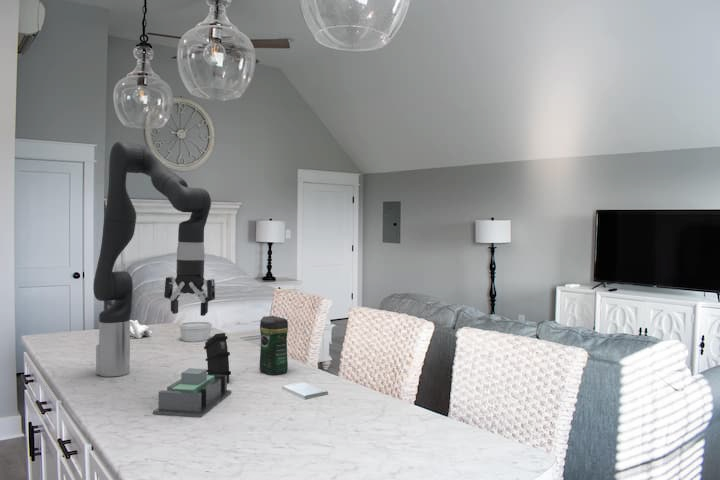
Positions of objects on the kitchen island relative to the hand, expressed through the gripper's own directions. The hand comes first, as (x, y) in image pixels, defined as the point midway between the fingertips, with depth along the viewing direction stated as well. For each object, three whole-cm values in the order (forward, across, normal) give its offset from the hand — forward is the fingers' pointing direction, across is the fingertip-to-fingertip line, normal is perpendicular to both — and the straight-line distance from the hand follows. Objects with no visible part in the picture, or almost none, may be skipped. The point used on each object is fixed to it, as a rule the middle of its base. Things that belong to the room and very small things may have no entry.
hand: (189, 314), depth 159 cm
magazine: (+24, +2, +17) cm, 29 cm away
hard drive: (+23, +32, +9) cm, 41 cm away
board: (+19, +5, -7) cm, 21 cm away
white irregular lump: (+26, -59, +74) cm, 98 cm away
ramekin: (+26, -32, +74) cm, 84 cm away
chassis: (+23, +6, -7) cm, 25 cm away
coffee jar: (+23, +17, +29) cm, 41 cm away
